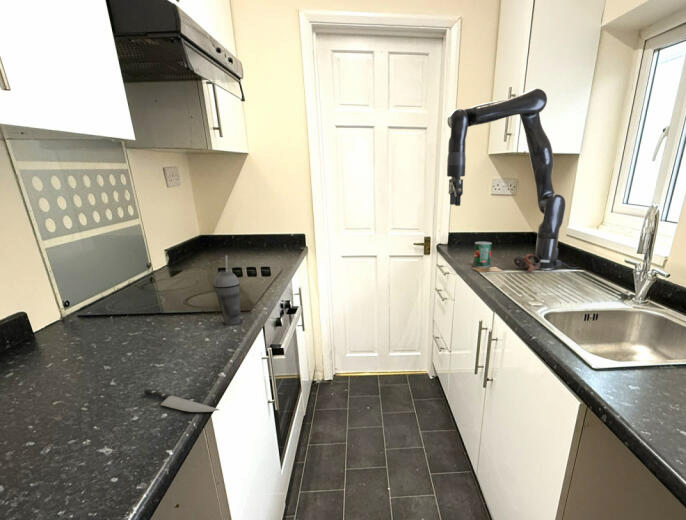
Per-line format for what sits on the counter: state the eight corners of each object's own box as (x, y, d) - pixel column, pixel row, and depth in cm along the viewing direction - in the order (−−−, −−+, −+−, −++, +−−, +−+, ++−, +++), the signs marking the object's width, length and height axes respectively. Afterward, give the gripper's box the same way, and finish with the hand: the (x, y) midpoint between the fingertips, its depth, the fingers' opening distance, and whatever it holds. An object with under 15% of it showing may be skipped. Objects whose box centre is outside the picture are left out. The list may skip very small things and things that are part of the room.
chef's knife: (208, 420, 75) (220, 410, 77) (207, 414, 74) (219, 405, 77) (134, 399, 81) (148, 391, 84) (133, 394, 81) (146, 386, 83)
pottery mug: (533, 268, 196) (541, 254, 190) (535, 281, 190) (544, 267, 183) (509, 262, 195) (517, 248, 188) (510, 274, 188) (519, 260, 182)
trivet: (496, 267, 197) (496, 266, 197) (503, 271, 188) (503, 270, 188) (472, 267, 195) (472, 267, 195) (478, 272, 187) (478, 271, 187)
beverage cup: (220, 319, 126) (208, 254, 118) (245, 317, 128) (235, 252, 120) (219, 327, 119) (207, 258, 112) (245, 324, 122) (235, 257, 114)
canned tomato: (493, 266, 198) (495, 243, 194) (480, 268, 194) (482, 244, 190) (482, 263, 204) (484, 241, 200) (470, 265, 200) (471, 242, 196)
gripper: (469, 163, 164) (468, 206, 171) (460, 164, 178) (459, 204, 184) (451, 163, 164) (450, 206, 170) (443, 164, 177) (442, 204, 183)
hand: (455, 205), depth 177 cm, fingers open, 8 cm apart
